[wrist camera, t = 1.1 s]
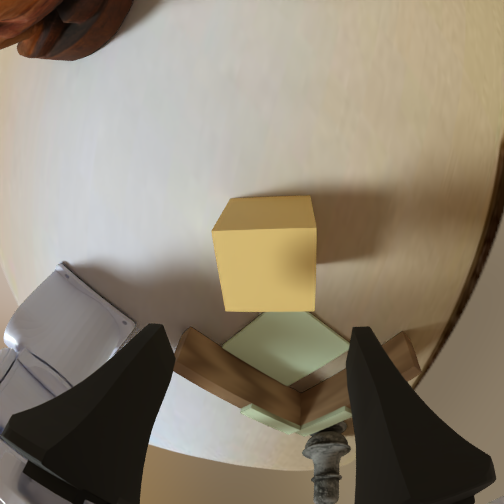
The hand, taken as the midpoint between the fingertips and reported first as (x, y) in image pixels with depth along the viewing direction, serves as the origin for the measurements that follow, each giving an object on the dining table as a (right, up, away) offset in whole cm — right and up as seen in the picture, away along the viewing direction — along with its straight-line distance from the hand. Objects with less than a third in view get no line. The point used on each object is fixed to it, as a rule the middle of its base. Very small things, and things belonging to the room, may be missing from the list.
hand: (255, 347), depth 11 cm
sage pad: (+3, -4, +14) cm, 15 cm away
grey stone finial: (+9, -19, +21) cm, 29 cm away
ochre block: (+1, +5, +9) cm, 10 cm away
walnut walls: (+4, -4, +13) cm, 14 cm away
